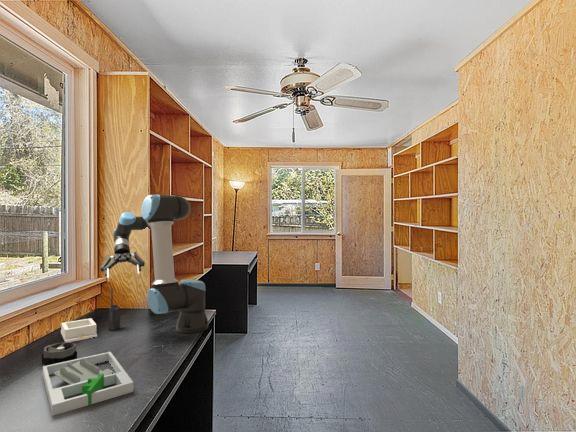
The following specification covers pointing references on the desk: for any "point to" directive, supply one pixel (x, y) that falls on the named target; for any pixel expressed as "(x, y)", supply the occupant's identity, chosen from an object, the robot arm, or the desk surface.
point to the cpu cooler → (59, 353)
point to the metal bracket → (80, 372)
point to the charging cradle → (78, 330)
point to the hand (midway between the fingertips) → (123, 277)
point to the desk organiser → (58, 394)
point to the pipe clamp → (93, 386)
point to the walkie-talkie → (113, 315)
